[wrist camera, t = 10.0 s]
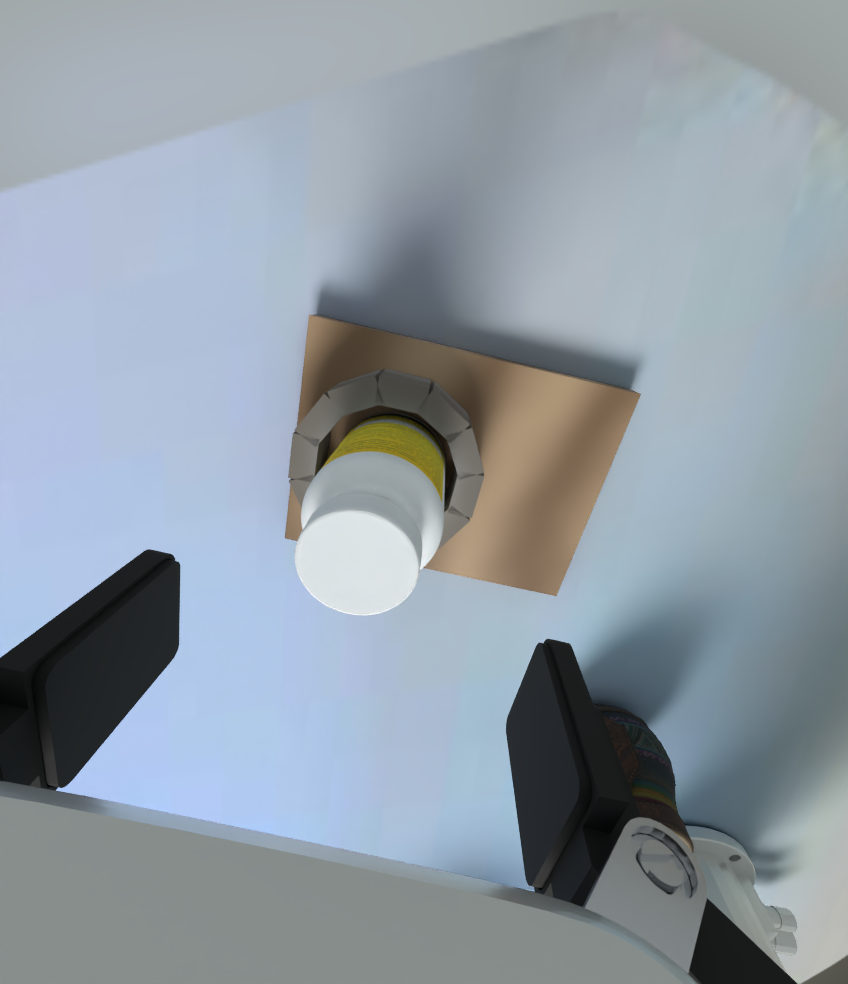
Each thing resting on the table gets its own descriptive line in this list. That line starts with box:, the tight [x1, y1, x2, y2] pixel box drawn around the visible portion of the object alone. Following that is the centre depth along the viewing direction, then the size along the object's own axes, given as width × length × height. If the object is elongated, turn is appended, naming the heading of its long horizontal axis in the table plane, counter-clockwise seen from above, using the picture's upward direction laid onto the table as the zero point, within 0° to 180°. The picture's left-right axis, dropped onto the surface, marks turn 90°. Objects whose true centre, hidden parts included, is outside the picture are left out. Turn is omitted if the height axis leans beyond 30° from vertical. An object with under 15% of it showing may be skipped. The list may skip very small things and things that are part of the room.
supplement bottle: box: [295, 412, 446, 615], centre depth 18 cm, size 5×5×10 cm
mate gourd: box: [596, 705, 694, 853], centre depth 27 cm, size 7×8×10 cm
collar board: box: [285, 315, 641, 596], centre depth 22 cm, size 16×12×4 cm
